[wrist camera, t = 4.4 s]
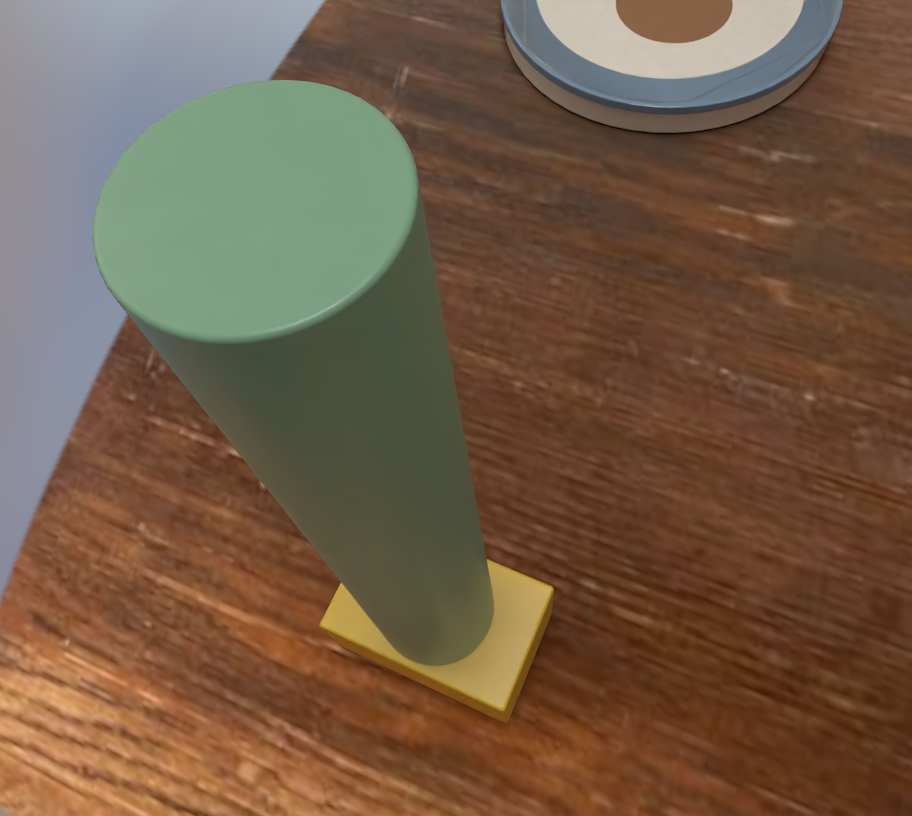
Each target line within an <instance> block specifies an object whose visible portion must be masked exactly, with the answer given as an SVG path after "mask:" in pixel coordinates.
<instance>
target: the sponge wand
mask: <svg viewBox="0 0 912 816" xmlns="http://www.w3.org/2000/svg"><path fill="white" fill-rule="evenodd" d="M93 244H94V252H95V258H96V262H97V265H98V268H99V271H100V274H101V276H102V278H103V280H104V282H105V284H106V286H107V288H108V289H109V291H110V292H111V293H112V295H113V296H114V297H115V298H116V300H117V301H118V303H119V304H120V305H121V306H122V307H123V309H124V310H125V311H126V313H127V314H128V315H129V316H130V318H131V319H132V320H133V321H134V323H135V324H136V325H137V326H138V328H139V329H140V330H141V331H142V333H143V334H144V335H145V336H146V338H147V339H148V340H149V341H150V343H151V344H152V345H153V346H154V348H155V349H156V350H157V352H158V353H159V354H160V355H161V357H162V358H163V359H164V360H165V362H166V363H167V364H168V365H169V367H170V368H171V369H172V370H173V372H174V373H175V374H176V375H177V377H178V378H179V379H180V380H181V382H182V383H183V384H184V385H185V387H186V388H187V389H188V390H189V392H190V393H191V394H192V395H193V397H194V398H195V399H196V400H197V402H198V403H199V404H200V406H201V407H202V408H203V409H204V411H205V412H206V413H207V414H208V416H209V417H210V418H211V419H212V421H213V422H214V423H215V424H216V426H217V427H218V428H219V429H220V431H221V432H222V433H223V434H224V436H225V437H226V438H227V439H228V441H229V442H230V443H231V444H232V446H233V447H234V448H235V449H236V451H237V452H238V453H239V455H240V456H241V457H242V458H243V460H244V461H245V462H246V463H247V465H248V466H249V467H250V468H251V470H252V471H253V472H254V473H255V475H256V476H257V477H258V478H259V480H260V481H261V482H262V483H263V485H264V486H265V487H266V488H267V490H268V491H269V492H270V493H271V495H272V496H273V497H274V498H275V500H276V501H277V502H278V503H279V505H280V506H281V507H282V509H283V510H284V511H285V512H286V514H287V515H288V516H289V517H290V519H291V520H292V521H293V522H294V524H295V525H296V526H297V527H298V529H299V530H300V531H301V532H302V534H303V535H304V536H305V537H306V539H307V540H308V541H309V542H310V544H311V545H312V546H313V547H314V549H315V550H316V551H317V552H318V554H319V555H320V556H321V557H322V559H323V560H324V561H325V563H326V564H327V565H328V566H329V568H330V569H331V570H332V571H333V573H334V574H335V575H336V576H337V578H338V579H339V580H340V581H341V584H340V586H339V588H338V590H337V591H336V593H335V595H334V597H333V599H332V601H331V603H330V605H329V607H328V609H327V611H326V613H325V615H324V617H323V619H322V621H321V623H320V627H321V628H322V629H323V630H324V631H325V632H326V633H327V634H329V635H330V636H331V637H332V638H333V639H334V640H335V641H336V642H337V643H338V644H339V645H340V646H342V647H343V648H345V649H347V650H350V651H352V652H354V653H356V654H358V655H360V656H362V657H364V658H367V659H369V660H371V661H373V662H375V663H377V664H379V665H381V666H384V667H386V668H388V669H390V670H392V671H394V672H396V673H398V674H401V675H403V676H405V677H407V678H409V679H411V680H413V681H416V682H418V683H420V684H422V685H424V686H426V687H428V688H430V689H433V690H435V691H437V692H439V693H441V694H443V695H445V696H447V697H450V698H452V699H454V700H456V701H458V702H460V703H462V704H464V705H467V706H469V707H471V708H473V709H475V710H477V711H479V712H481V713H484V714H486V715H488V716H490V717H492V718H494V719H496V720H498V721H501V722H503V723H508V721H509V719H510V716H511V714H512V711H513V709H514V707H515V704H516V702H517V699H518V697H519V694H520V692H521V689H522V687H523V684H524V682H525V679H526V677H527V674H528V672H529V669H530V667H531V664H532V662H533V659H534V657H535V654H536V652H537V649H538V647H539V644H540V642H541V640H542V637H543V635H544V632H545V630H546V627H547V625H548V622H549V620H550V617H551V615H552V607H553V596H554V588H553V587H552V586H550V585H547V584H545V583H543V582H540V581H538V580H536V579H533V578H531V577H528V576H526V575H524V574H521V573H519V572H516V571H514V570H512V569H509V568H507V567H505V566H502V565H500V564H497V563H495V562H493V561H490V560H488V559H486V553H485V548H484V542H483V537H482V531H481V525H480V520H479V514H478V509H477V503H476V498H475V492H474V486H473V481H472V475H471V470H470V464H469V459H468V453H467V447H466V442H465V436H464V431H463V425H462V419H461V414H460V408H459V403H458V397H457V392H456V386H455V380H454V375H453V369H452V364H451V358H450V353H449V347H448V341H447V336H446V330H445V325H444V319H443V313H442V308H441V302H440V297H439V291H438V286H437V280H436V274H435V269H434V263H433V258H432V252H431V247H430V241H429V235H428V230H427V224H426V219H425V213H424V207H423V202H422V196H421V191H420V185H419V180H418V174H417V169H416V164H415V161H414V159H413V156H412V153H411V151H410V148H409V147H408V145H407V143H406V141H405V140H404V138H403V136H402V135H401V134H400V132H399V131H398V130H397V129H396V127H395V126H394V125H393V124H392V123H391V121H390V120H389V119H388V118H386V117H385V116H384V115H383V114H382V113H381V112H380V111H379V110H377V109H376V108H375V107H373V106H372V105H370V104H369V103H367V102H366V101H364V100H363V99H361V98H359V97H356V96H354V95H352V94H350V93H348V92H346V91H343V90H340V89H337V88H334V87H331V86H327V85H323V84H318V83H313V82H305V81H296V80H271V81H260V82H253V83H247V84H241V85H236V86H233V87H229V88H226V89H222V90H219V91H215V92H213V93H210V94H208V95H205V96H202V97H200V98H197V99H195V100H193V101H191V102H189V103H187V104H185V105H183V106H181V107H179V108H178V109H176V110H174V111H173V112H171V113H169V114H168V115H166V116H165V117H163V118H162V119H160V120H159V121H158V122H156V123H155V124H154V125H152V126H151V127H150V128H148V129H147V130H146V131H145V132H144V133H143V134H142V135H141V136H140V137H139V138H137V139H136V141H134V142H133V143H132V145H131V146H130V147H129V148H128V149H127V150H126V151H125V153H124V154H123V155H122V156H121V157H120V159H119V160H118V162H117V163H116V165H115V167H114V168H113V169H112V171H111V172H110V174H109V176H108V178H107V180H106V182H105V184H104V186H103V188H102V191H101V193H100V196H99V199H98V202H97V206H96V211H95V216H94V222H93Z"/></svg>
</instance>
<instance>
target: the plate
mask: <svg viewBox="0 0 912 816" xmlns="http://www.w3.org/2000/svg"><path fill="white" fill-rule="evenodd" d="M842 6H843V0H501V11H502V16H503V20H504V31H505V37H506V40H507V44H508V48H509V50H510V52H511V54H512V56H513V58H514V60H515V62H516V64H517V65H518V67H519V68H520V70H521V71H522V72H523V74H524V75H525V77H526V78H527V79H528V80H529V81H530V82H531V83H532V84H533V85H534V86H535V87H536V88H537V89H538V90H539V91H541V92H542V93H543V94H545V95H546V96H547V97H548V98H550V99H551V100H552V101H554V102H556V103H557V104H559V105H561V106H562V107H564V108H566V109H567V110H569V111H572V112H574V113H576V114H578V115H580V116H583V117H585V118H587V119H590V120H593V121H596V122H599V123H602V124H606V125H609V126H614V127H618V128H623V129H628V130H635V131H643V132H652V133H680V132H692V131H701V130H707V129H712V128H718V127H722V126H726V125H729V124H733V123H736V122H739V121H743V120H745V119H747V118H750V117H752V116H755V115H757V114H759V113H762V112H764V111H765V110H767V109H769V108H771V107H772V106H774V105H776V104H778V103H780V102H781V101H782V100H784V99H785V98H786V97H788V96H789V95H790V94H792V93H793V92H794V91H795V90H796V89H797V88H798V87H799V86H800V85H801V84H802V83H803V82H804V81H805V80H806V79H807V78H808V77H809V76H810V75H811V73H812V72H813V70H814V69H815V68H816V66H817V65H818V64H819V61H820V59H821V57H822V55H823V53H824V51H825V49H826V46H827V45H828V44H829V42H830V40H831V38H832V35H833V33H834V31H835V29H836V27H837V24H838V22H839V18H840V14H841V10H842Z"/></svg>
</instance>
